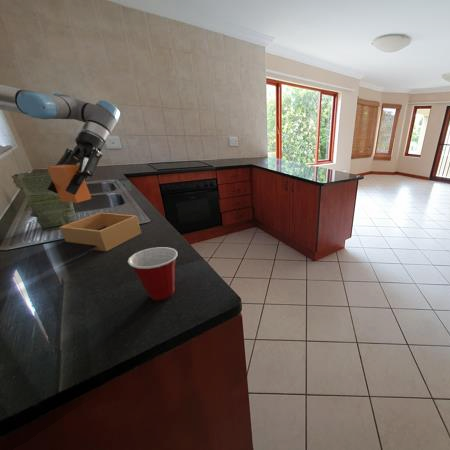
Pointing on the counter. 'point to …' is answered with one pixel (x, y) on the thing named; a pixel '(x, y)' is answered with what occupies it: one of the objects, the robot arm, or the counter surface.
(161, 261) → the plastic cup
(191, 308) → the counter surface
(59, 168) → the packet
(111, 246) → the open box
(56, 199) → the pouch
